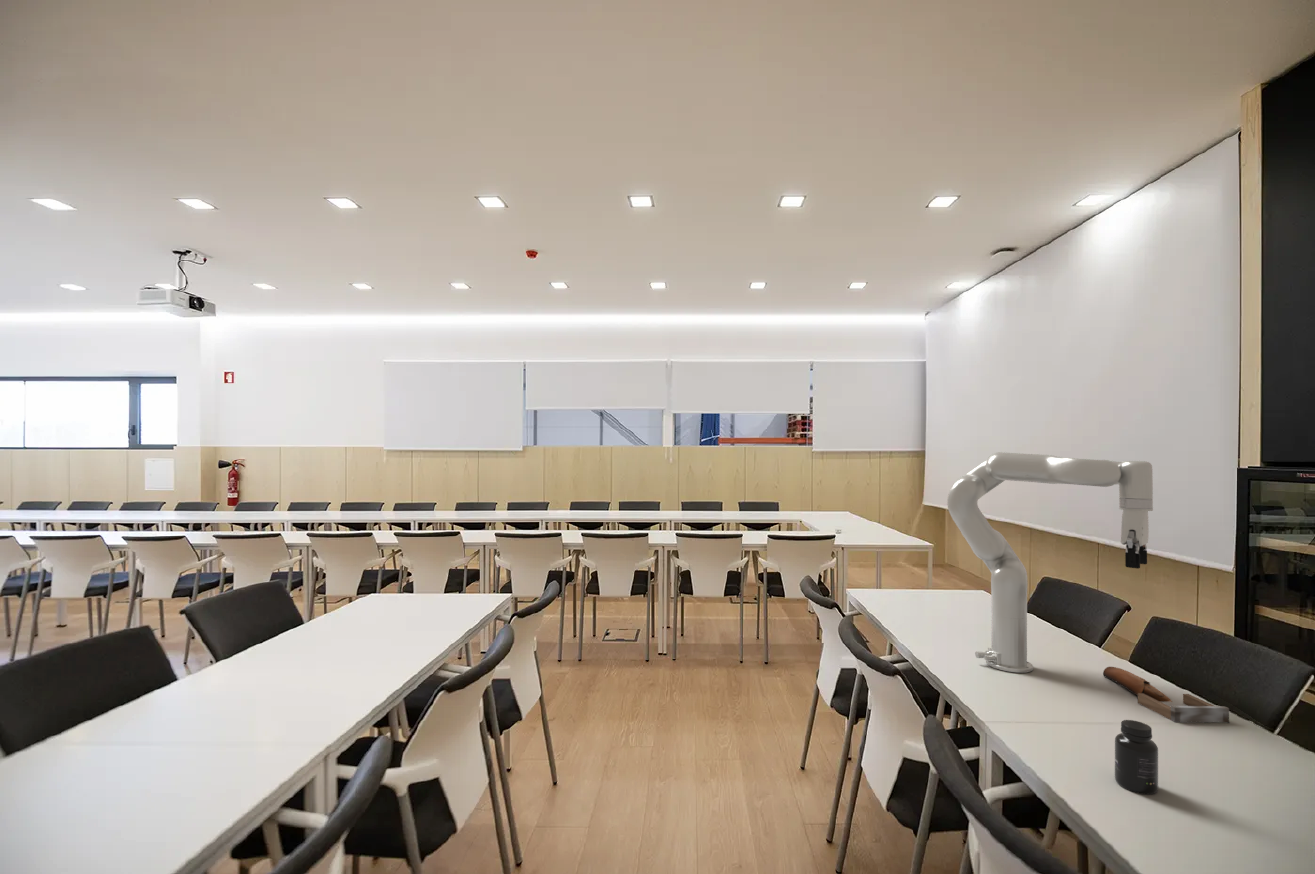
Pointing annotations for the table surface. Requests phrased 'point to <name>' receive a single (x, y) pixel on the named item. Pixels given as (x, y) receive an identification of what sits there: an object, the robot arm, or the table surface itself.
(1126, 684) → the sunglasses case
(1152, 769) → the supplement bottle
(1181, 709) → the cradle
